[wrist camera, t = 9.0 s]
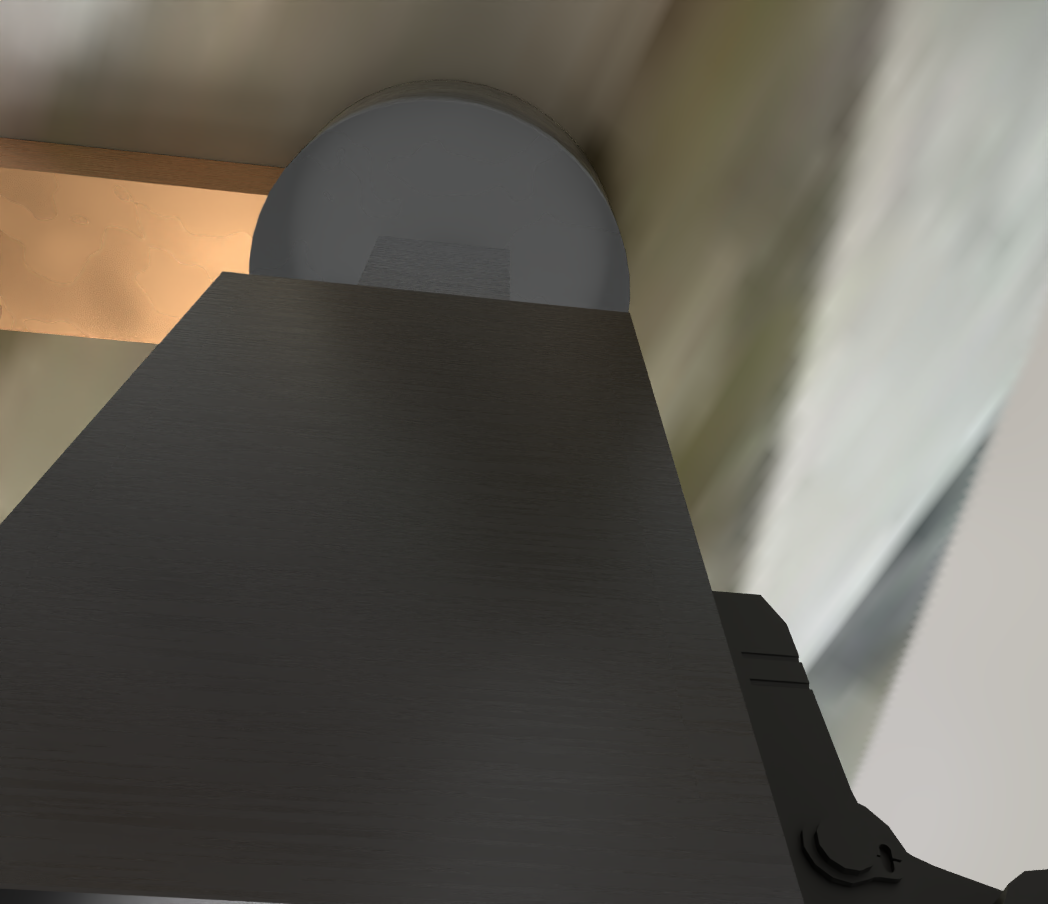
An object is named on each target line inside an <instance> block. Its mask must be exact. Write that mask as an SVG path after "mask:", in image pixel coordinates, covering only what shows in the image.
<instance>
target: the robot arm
mask: <svg viewBox="0 0 1048 904" xmlns="http://www.w3.org/2000/svg"><path fill="white" fill-rule="evenodd" d="M712 593H713V597H714V600H715V603H716V607H717V610H718V613H719V617H720V620H721V624H722V627H723V630H724V634H725V637H726V641H727V644H728V647H729V651H730V654H731V657H732V661H733V664H734V668H735V671H736V674H737V678H738V681H739V685H740V688H741V691H742V695H743V698H744V701H745V705H746V708H747V712H748V715H749V718H750V722H751V725H752V729H753V732H754V735H755V739H756V742H757V745H758V749H759V752H760V756H761V759H762V762H763V766H764V769H765V773H766V776H767V779H768V783H769V786H770V789H771V793H772V796H773V800H774V803H775V806H776V810H777V813H778V817H779V820H780V823H781V827H782V830H783V833H784V837H785V840H786V844H787V847H788V850H789V854H790V857H791V860H792V864H793V867H794V871H795V874H796V877H797V881H798V884H799V888H800V891H801V894H802V898H803V901H804V904H1048V869H1047V870H1034V871H1024V872H1023V873H1022V874H1020V875H1019V876H1018V877H1017V878H1015V879H1014V880H1013V881H1012V882H1010V883H1009V884H1008V885H1007V887H1006V888H1005V890H1004V891H1001V890H998V889H996V888H993V887H990V886H987V885H985V884H982V883H979V882H976V881H974V880H971V879H968V878H965V877H962V876H960V875H957V874H954V873H952V872H949V871H946V870H943V869H941V868H938V867H935V866H933V865H931V864H928V863H927V862H924V861H922V860H920V859H918V858H915V857H913V856H912V855H910V854H909V853H907V852H906V850H905V849H904V848H903V846H902V845H901V843H900V842H899V840H898V839H897V838H896V836H895V835H894V833H893V832H892V831H891V829H890V828H889V826H888V825H886V824H885V823H884V822H883V821H882V820H880V819H879V818H878V817H877V816H876V815H874V814H873V813H872V812H871V811H870V810H869V809H867V808H866V807H865V806H863V805H861V804H858V803H857V801H856V799H855V797H854V795H853V793H852V791H851V789H850V786H849V784H848V781H847V778H846V776H845V773H844V771H843V768H842V766H841V763H840V760H839V758H838V755H837V753H836V750H835V748H834V745H833V742H832V740H831V737H830V735H829V732H828V729H827V727H826V724H825V722H824V719H823V717H822V714H821V711H820V709H819V706H818V704H817V701H816V699H815V696H814V693H813V691H812V690H810V689H809V681H808V678H807V675H806V673H805V670H804V668H803V665H802V663H801V662H799V655H798V652H797V650H796V647H795V645H794V642H793V639H792V637H791V634H790V632H789V629H788V626H787V624H786V623H785V622H784V621H783V619H782V618H781V617H780V616H779V615H778V614H777V613H776V612H775V611H774V609H773V608H772V607H771V606H770V605H769V604H768V603H767V602H766V600H765V599H764V598H763V597H762V596H761V595H755V594H742V593H730V592H717V591H712Z"/></svg>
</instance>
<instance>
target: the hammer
mask: <svg viewBox="0 0 1048 904" xmlns="http://www.w3.org/2000/svg"><path fill="white" fill-rule="evenodd" d="M222 271H224V272H234V273H243V274H253V275H263V276H273V277H283V278H293V279H303V280H312V281H322V282H332V283H342V284H352V285H362V286H372V287H381V288H391V289H401V290H411V291H421V292H431V293H440V294H450V295H460V296H470V297H480V298H490V299H500V300H509V301H519V302H529V303H539V304H549V305H559V306H569V307H578V308H588V309H598V310H608V311H618V312H628V310H629V302H630V283H629V270H628V264H627V257H626V251H625V248H624V245H623V241H622V238H621V235H620V232H619V228H618V226H617V223H616V220H615V217H614V215H613V212H612V209H611V207H610V204H609V201H608V198H607V196H606V193H605V191H604V189H603V186H602V184H601V182H600V180H599V178H598V176H597V173H596V171H595V170H594V168H593V167H592V165H591V164H590V162H589V160H588V159H587V157H586V156H585V154H584V153H583V151H582V150H581V149H580V148H579V147H578V145H577V144H576V143H575V142H574V141H573V139H572V138H571V137H570V136H569V135H568V134H567V133H566V132H565V131H564V130H563V129H562V128H561V127H560V126H558V125H557V124H556V123H555V122H554V121H553V120H552V119H551V118H549V117H548V116H546V115H545V114H544V113H542V112H541V111H539V110H538V109H536V108H535V107H533V106H532V105H530V104H528V103H526V102H524V101H522V100H520V99H518V98H516V97H514V96H512V95H510V94H508V93H506V92H503V91H500V90H497V89H494V88H491V87H488V86H485V85H480V84H474V83H469V82H464V81H452V80H429V81H418V82H410V83H406V84H402V85H398V86H394V87H390V88H387V89H384V90H382V91H379V92H377V93H375V94H372V95H370V96H367V97H365V98H364V99H362V100H360V101H358V102H357V103H355V104H353V105H352V106H350V107H348V108H347V109H345V110H344V111H343V112H342V113H340V114H339V115H338V116H337V117H335V118H334V119H333V120H332V121H330V122H329V123H328V124H327V125H326V126H325V127H324V128H323V129H322V130H321V131H320V132H319V133H318V134H317V135H316V136H315V137H314V138H313V139H312V140H311V141H310V142H309V143H308V144H307V146H306V147H305V148H304V149H303V150H302V151H301V152H300V153H299V154H298V155H297V156H296V157H295V158H294V159H293V161H292V162H291V163H290V164H289V165H288V166H287V167H286V168H279V167H270V166H260V165H251V164H242V163H232V162H223V161H214V160H204V159H195V158H186V157H177V156H167V155H158V154H149V153H139V152H130V151H121V150H111V149H102V148H93V147H84V146H74V145H65V144H56V143H46V142H37V141H28V140H18V139H9V138H0V329H2V330H13V331H24V332H35V333H46V334H57V335H67V336H78V337H89V338H100V339H111V340H122V341H133V342H144V343H155V344H159V343H160V342H161V341H162V340H163V339H164V338H165V336H166V335H167V334H168V333H169V332H170V331H171V330H172V328H173V327H174V326H175V325H176V324H177V323H178V322H179V320H180V319H181V318H182V317H183V316H184V315H185V314H186V312H187V311H188V310H189V309H190V308H191V307H192V306H193V305H194V303H195V302H196V301H197V300H198V299H199V298H200V297H201V295H202V294H203V293H204V292H205V291H206V290H207V289H208V287H209V286H210V285H211V284H212V283H213V282H214V281H215V279H216V278H217V277H218V276H219V275H220V274H221V273H222Z"/></svg>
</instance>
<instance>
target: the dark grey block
mask: <svg viewBox="0 0 1048 904" xmlns="http://www.w3.org/2000/svg"><path fill="white" fill-rule="evenodd" d="M0 904H804V901H803V898H802V894H801V891H800V888H799V884H798V881H797V877H796V874H795V871H794V867H793V864H792V860H791V857H790V854H789V850H788V847H787V844H786V840H785V837H784V833H783V830H782V827H781V823H780V820H779V817H778V813H777V810H776V806H775V803H774V800H773V796H772V793H771V789H770V786H769V783H768V779H767V776H766V773H765V769H764V766H763V762H762V759H761V756H760V752H759V749H758V745H757V742H756V739H755V735H754V732H753V729H752V725H751V722H750V718H749V715H748V712H747V708H746V705H745V701H744V698H743V695H742V691H741V688H740V685H739V681H738V678H737V674H736V671H735V668H734V664H733V661H732V657H731V654H730V651H729V647H728V644H727V641H726V637H725V634H724V630H723V627H722V624H721V620H720V617H719V613H718V610H717V607H716V603H715V600H714V597H713V593H712V590H711V586H710V583H709V580H708V576H707V573H706V569H705V566H704V563H703V559H702V556H701V553H700V549H699V546H698V542H697V539H696V536H695V532H694V529H693V526H692V522H691V519H690V515H689V512H688V509H687V505H686V502H685V498H684V495H683V492H682V488H681V485H680V482H679V478H678V475H677V471H676V468H675V465H674V461H673V458H672V454H671V451H670V448H669V444H668V441H667V438H666V434H665V431H664V427H663V424H662V421H661V417H660V414H659V410H658V407H657V404H656V400H655V397H654V394H653V390H652V387H651V383H650V380H649V377H648V373H647V370H646V366H645V363H644V360H643V356H642V353H641V350H640V346H639V343H638V339H637V336H636V333H635V329H634V326H633V322H632V319H631V316H630V313H628V312H618V311H608V310H598V309H588V308H578V307H569V306H559V305H549V304H539V303H529V302H519V301H509V300H500V299H490V298H480V297H470V296H460V295H450V294H440V293H431V292H421V291H411V290H401V289H391V288H381V287H372V286H362V285H352V284H342V283H332V282H322V281H312V280H303V279H293V278H283V277H273V276H263V275H253V274H243V273H234V272H224V271H222V273H221V274H220V275H219V276H218V277H217V278H216V279H215V281H214V282H213V283H212V284H211V285H210V286H209V287H208V289H207V290H206V291H205V292H204V293H203V294H202V295H201V297H200V298H199V299H198V300H197V301H196V302H195V303H194V305H193V306H192V307H191V308H190V309H189V310H188V311H187V312H186V314H185V315H184V316H183V317H182V318H181V319H180V320H179V322H178V323H177V324H176V325H175V326H174V327H173V328H172V330H171V331H170V332H169V333H168V334H167V335H166V336H165V338H164V339H163V340H162V341H161V342H160V343H159V344H158V346H157V347H156V348H155V349H154V350H153V351H152V352H151V353H150V355H149V356H148V357H147V358H146V359H145V360H144V361H143V363H142V364H141V365H140V366H139V367H138V368H137V369H136V371H135V372H134V373H133V374H132V375H131V376H130V377H129V379H128V380H127V381H126V382H125V383H124V384H123V385H122V387H121V388H120V389H119V390H118V391H117V392H116V393H115V395H114V396H113V397H112V398H111V399H110V400H109V401H108V402H107V404H106V405H105V406H104V407H103V408H102V409H101V410H100V412H99V413H98V414H97V415H96V416H95V417H94V418H93V420H92V421H91V422H90V423H89V424H88V425H87V426H86V428H85V429H84V430H83V431H82V432H81V433H80V434H79V436H78V437H77V438H76V439H75V440H74V441H73V442H72V443H71V445H70V446H69V447H68V448H67V449H66V450H65V451H64V453H63V454H62V455H61V456H60V457H59V458H58V459H57V461H56V462H55V463H54V464H53V465H52V466H51V467H50V469H49V470H48V471H47V472H46V473H45V474H44V475H43V477H42V478H41V479H40V480H39V481H38V482H37V483H36V485H35V486H34V487H33V488H32V489H31V490H30V491H29V492H28V494H27V495H26V496H25V497H24V498H23V499H22V500H21V502H20V503H19V504H18V505H17V506H16V507H15V508H14V510H13V511H12V512H11V513H10V514H9V515H8V516H7V518H6V519H5V520H4V521H3V522H2V523H1V524H0Z"/></svg>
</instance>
